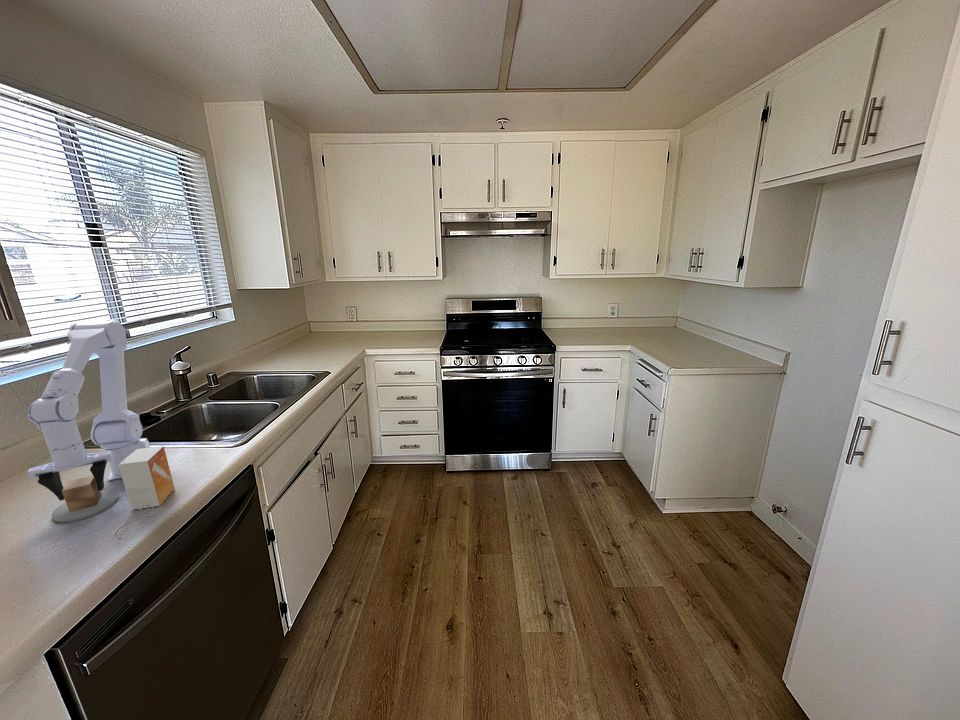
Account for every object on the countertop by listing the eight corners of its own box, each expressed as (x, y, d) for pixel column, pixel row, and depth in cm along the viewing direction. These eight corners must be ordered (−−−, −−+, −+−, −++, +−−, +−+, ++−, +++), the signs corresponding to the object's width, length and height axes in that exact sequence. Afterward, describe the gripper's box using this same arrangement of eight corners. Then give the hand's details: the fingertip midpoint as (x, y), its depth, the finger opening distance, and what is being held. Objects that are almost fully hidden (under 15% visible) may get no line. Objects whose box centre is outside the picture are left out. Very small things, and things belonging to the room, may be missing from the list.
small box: (160, 506, 99) (147, 461, 95) (131, 511, 97) (116, 464, 94) (175, 488, 107) (164, 445, 103) (148, 492, 105) (135, 448, 101)
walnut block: (101, 495, 103) (95, 474, 101) (96, 505, 98) (89, 484, 97) (75, 501, 100) (68, 481, 98) (69, 512, 96) (61, 491, 94)
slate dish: (122, 487, 107) (121, 484, 107) (113, 510, 98) (112, 507, 98) (61, 502, 101) (60, 499, 101) (45, 529, 92) (44, 525, 91)
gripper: (15, 460, 88) (35, 512, 91) (102, 442, 95) (117, 491, 99) (27, 448, 93) (46, 497, 97) (108, 431, 101) (122, 478, 105)
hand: (82, 493), depth 98 cm, fingers open, 6 cm apart
